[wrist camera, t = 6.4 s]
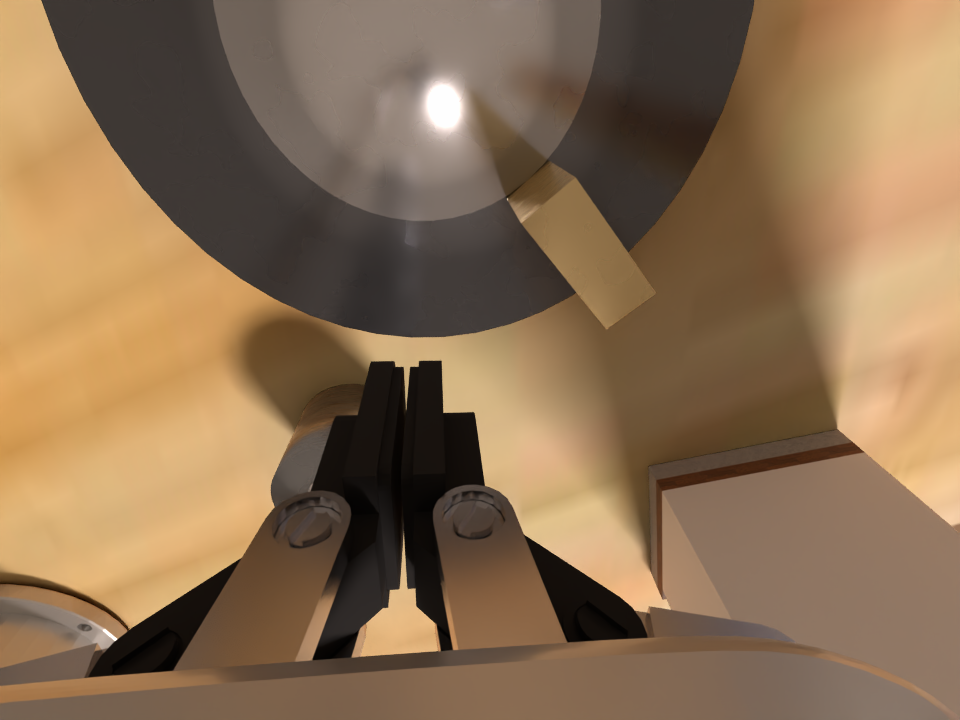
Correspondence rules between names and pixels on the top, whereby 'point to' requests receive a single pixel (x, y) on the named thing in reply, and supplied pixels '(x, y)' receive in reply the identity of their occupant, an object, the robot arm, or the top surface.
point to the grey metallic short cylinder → (312, 440)
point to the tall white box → (813, 554)
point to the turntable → (411, 142)
